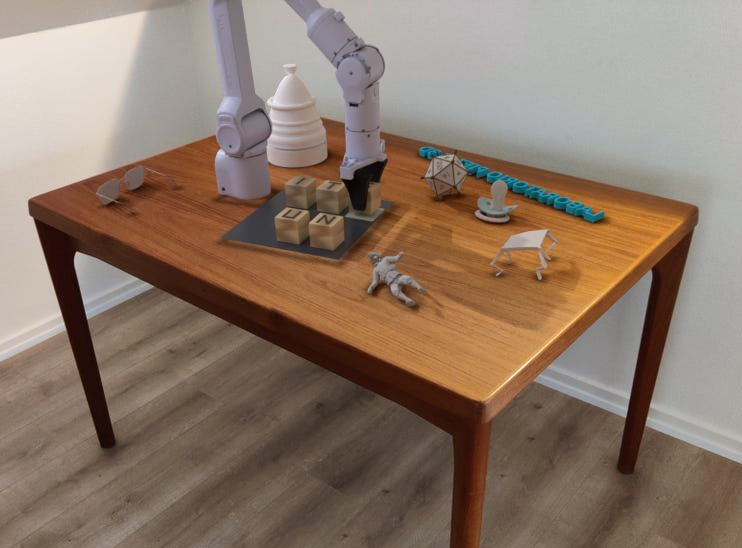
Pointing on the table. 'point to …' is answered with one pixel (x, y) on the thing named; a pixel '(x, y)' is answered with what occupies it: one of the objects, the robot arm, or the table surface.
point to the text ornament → (524, 188)
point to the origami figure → (527, 247)
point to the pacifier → (495, 204)
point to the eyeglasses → (111, 188)
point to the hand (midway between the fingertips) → (364, 204)
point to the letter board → (267, 228)
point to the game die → (446, 174)
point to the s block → (370, 200)
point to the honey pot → (295, 125)
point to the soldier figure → (392, 276)
